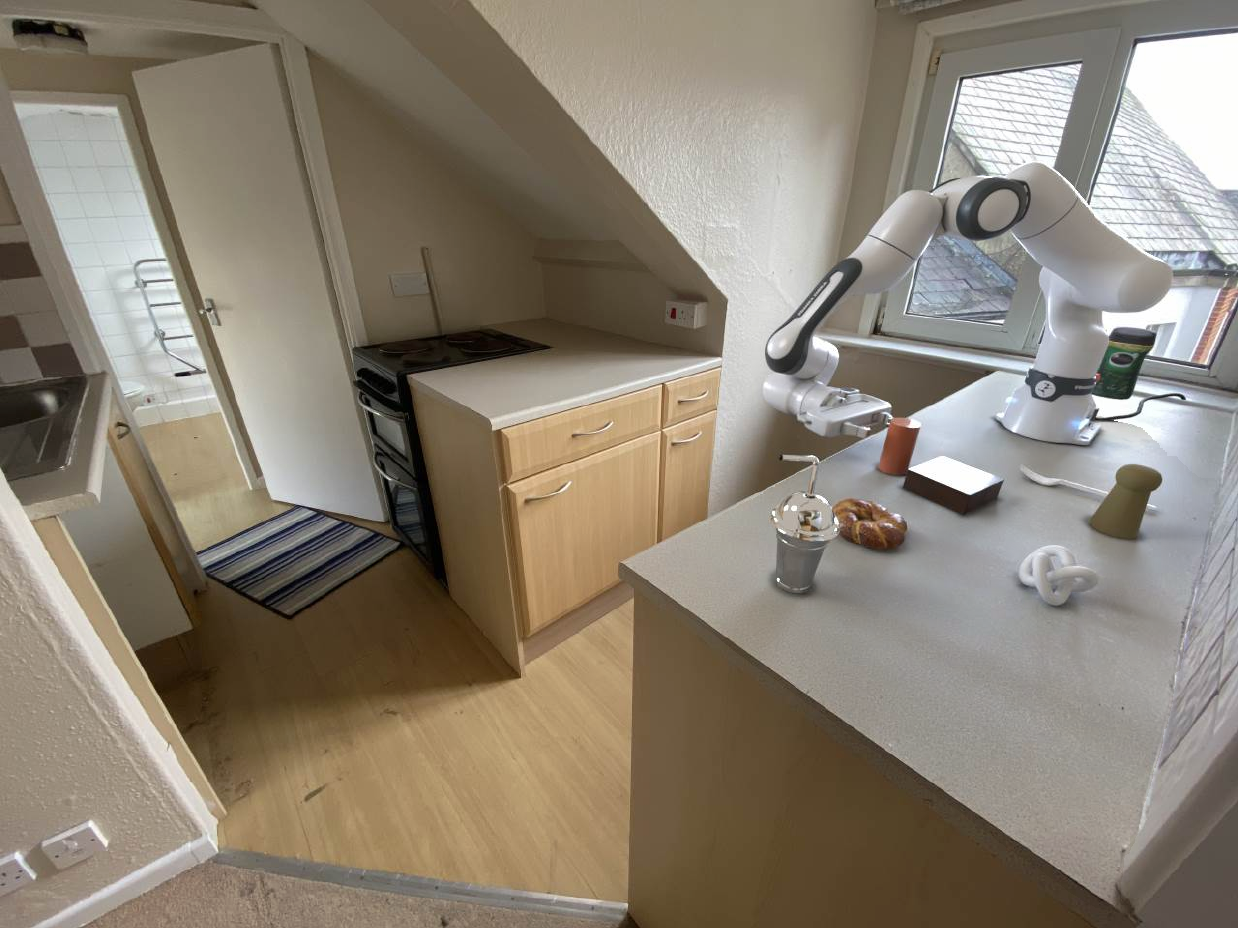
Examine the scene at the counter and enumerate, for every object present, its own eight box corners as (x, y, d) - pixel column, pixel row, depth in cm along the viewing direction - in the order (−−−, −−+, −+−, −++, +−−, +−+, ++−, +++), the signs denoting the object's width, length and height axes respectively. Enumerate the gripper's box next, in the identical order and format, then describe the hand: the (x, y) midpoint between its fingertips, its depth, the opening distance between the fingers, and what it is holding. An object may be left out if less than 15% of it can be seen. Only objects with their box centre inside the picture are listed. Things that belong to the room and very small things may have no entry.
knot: (1067, 621, 66) (1086, 584, 64) (998, 585, 72) (1013, 551, 70) (1092, 600, 70) (1111, 564, 67) (1025, 568, 76) (1040, 534, 73)
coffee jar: (1131, 396, 146) (1162, 328, 137) (1127, 403, 141) (1160, 333, 132) (1086, 388, 152) (1114, 323, 144) (1082, 394, 147) (1110, 327, 139)
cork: (1146, 540, 83) (1181, 479, 78) (1102, 536, 84) (1133, 474, 79) (1122, 520, 88) (1152, 461, 83) (1081, 516, 89) (1108, 457, 84)
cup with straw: (830, 607, 68) (864, 469, 59) (758, 598, 69) (781, 462, 60) (820, 567, 75) (848, 439, 67) (755, 560, 77) (775, 433, 68)
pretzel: (811, 519, 87) (815, 499, 85) (861, 506, 91) (865, 487, 89) (868, 560, 77) (873, 538, 76) (921, 543, 81) (927, 523, 79)
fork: (1155, 515, 89) (1160, 505, 89) (1015, 477, 101) (1018, 468, 101) (1155, 508, 92) (1160, 498, 91) (1018, 471, 104) (1021, 463, 103)
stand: (936, 474, 102) (942, 455, 100) (997, 499, 94) (1004, 479, 92) (902, 488, 97) (907, 468, 95) (963, 515, 89) (970, 495, 87)
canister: (888, 461, 107) (901, 415, 102) (912, 471, 103) (926, 424, 98) (872, 467, 104) (884, 420, 100) (896, 478, 100) (910, 429, 96)
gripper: (794, 401, 108) (852, 424, 97) (858, 386, 117) (917, 405, 107) (789, 430, 111) (845, 455, 100) (852, 413, 120) (909, 434, 110)
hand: (883, 429), depth 104 cm, fingers open, 8 cm apart
